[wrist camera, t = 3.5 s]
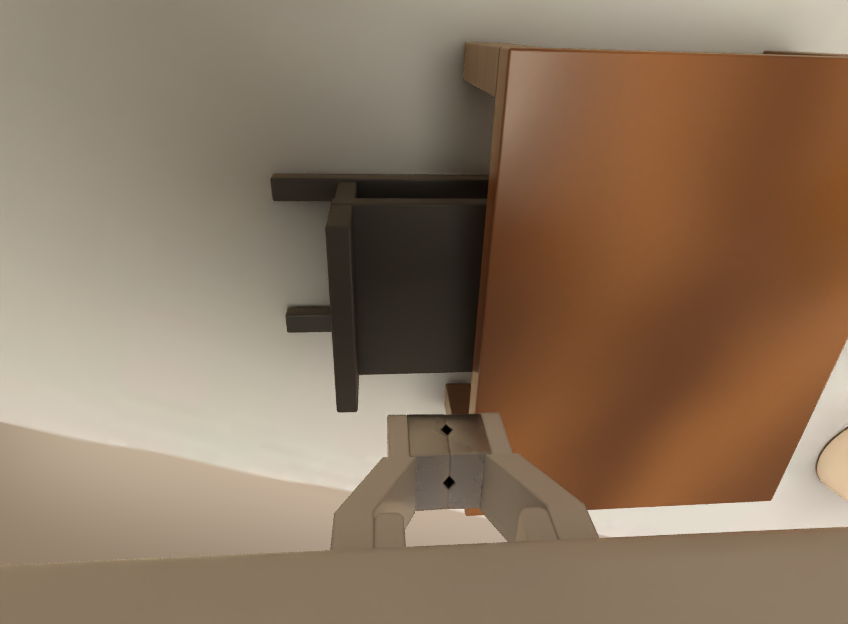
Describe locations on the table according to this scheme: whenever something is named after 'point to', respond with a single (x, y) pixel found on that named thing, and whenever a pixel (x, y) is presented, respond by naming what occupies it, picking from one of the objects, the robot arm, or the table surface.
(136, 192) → the table surface
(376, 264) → the chair
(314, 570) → the robot arm
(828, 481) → the beer glass
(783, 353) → the side table
